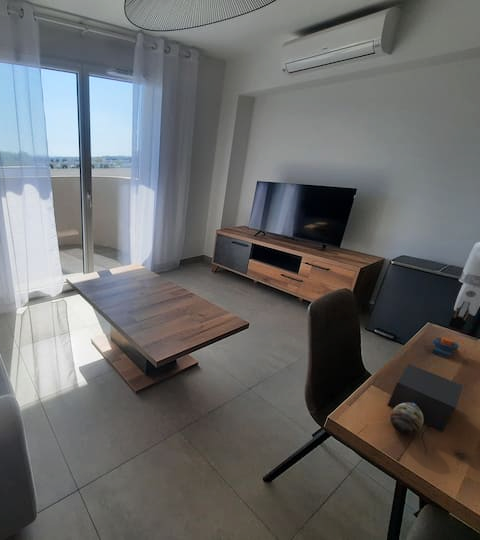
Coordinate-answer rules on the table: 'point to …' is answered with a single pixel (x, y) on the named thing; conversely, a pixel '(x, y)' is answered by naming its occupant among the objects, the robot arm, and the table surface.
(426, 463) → the table surface
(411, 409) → the seashell
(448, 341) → the button
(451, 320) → the robot arm
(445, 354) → the block
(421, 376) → the dark grey box
